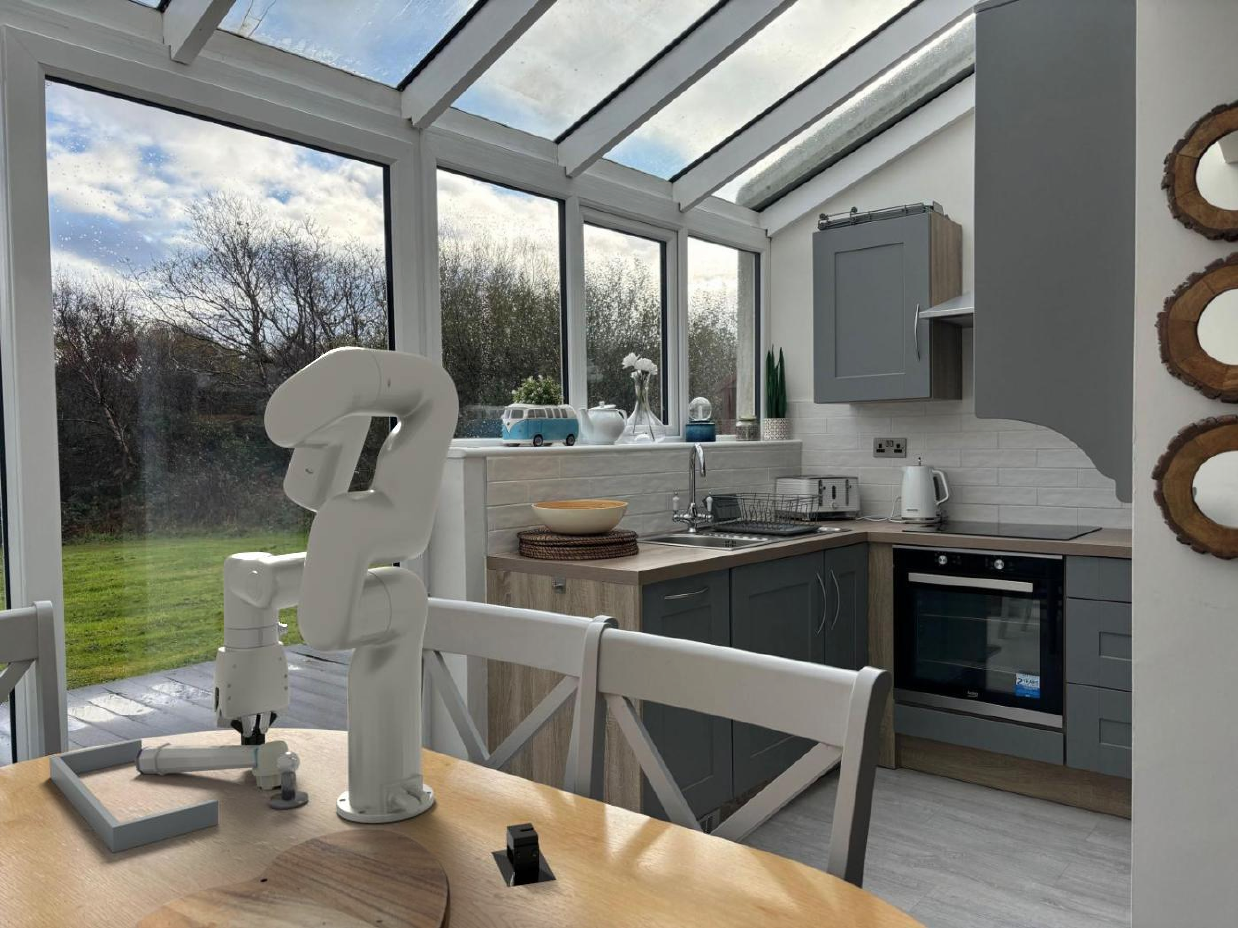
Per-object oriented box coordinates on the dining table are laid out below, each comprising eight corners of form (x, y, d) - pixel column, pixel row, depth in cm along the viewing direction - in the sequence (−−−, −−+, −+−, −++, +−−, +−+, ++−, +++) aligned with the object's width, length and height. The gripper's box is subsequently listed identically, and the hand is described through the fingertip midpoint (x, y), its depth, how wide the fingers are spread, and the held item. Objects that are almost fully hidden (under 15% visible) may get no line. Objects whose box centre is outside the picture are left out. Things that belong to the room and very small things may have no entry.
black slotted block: (567, 891, 100) (566, 848, 100) (500, 902, 98) (500, 859, 98) (540, 843, 112) (539, 805, 112) (480, 852, 110) (479, 813, 110)
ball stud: (314, 802, 124) (313, 751, 124) (277, 812, 121) (276, 760, 120) (298, 792, 128) (298, 743, 127) (262, 801, 124) (262, 751, 124)
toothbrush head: (156, 740, 139) (301, 729, 133) (162, 784, 139) (307, 775, 133) (129, 751, 134) (278, 741, 128) (135, 797, 134) (285, 789, 127)
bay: (218, 824, 117) (217, 800, 117) (113, 852, 109) (112, 827, 109) (140, 757, 142) (139, 738, 142) (49, 777, 134) (49, 756, 134)
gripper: (291, 626, 144) (292, 743, 145) (190, 640, 134) (192, 765, 135) (311, 633, 139) (312, 754, 139) (207, 648, 129) (209, 779, 129)
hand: (253, 759), depth 137 cm, fingers closed
